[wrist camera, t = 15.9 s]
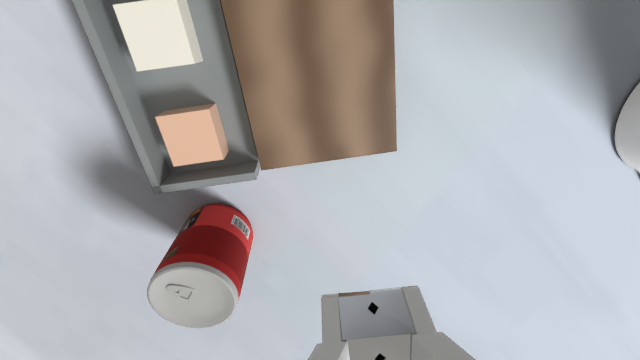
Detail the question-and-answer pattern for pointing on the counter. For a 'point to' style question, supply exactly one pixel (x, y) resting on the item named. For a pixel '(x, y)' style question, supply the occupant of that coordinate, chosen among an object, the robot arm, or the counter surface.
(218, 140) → the tile terracotta
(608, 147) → the counter surface
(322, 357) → the robot arm
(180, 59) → the tile cream
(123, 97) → the tray
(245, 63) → the board
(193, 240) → the canned food
